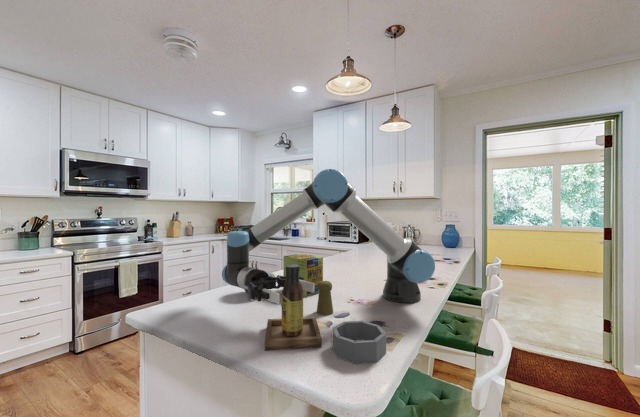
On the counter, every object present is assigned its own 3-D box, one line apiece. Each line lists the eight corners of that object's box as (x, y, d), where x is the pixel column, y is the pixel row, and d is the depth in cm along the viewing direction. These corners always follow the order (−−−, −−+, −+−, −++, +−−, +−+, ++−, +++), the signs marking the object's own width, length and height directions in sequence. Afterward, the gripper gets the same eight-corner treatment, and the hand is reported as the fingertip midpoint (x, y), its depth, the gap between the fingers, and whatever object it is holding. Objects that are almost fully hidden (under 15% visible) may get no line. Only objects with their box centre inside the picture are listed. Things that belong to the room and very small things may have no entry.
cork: (331, 316, 100) (331, 284, 100) (314, 314, 101) (314, 283, 101) (334, 309, 106) (334, 279, 106) (318, 308, 107) (318, 279, 107)
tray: (315, 324, 92) (315, 316, 92) (321, 347, 78) (321, 338, 78) (267, 327, 91) (267, 319, 91) (264, 350, 76) (264, 341, 76)
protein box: (306, 297, 120) (306, 260, 120) (282, 290, 131) (282, 255, 131) (323, 292, 128) (323, 257, 128) (299, 285, 139) (299, 253, 138)
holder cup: (374, 337, 84) (375, 320, 84) (391, 361, 71) (391, 340, 71) (330, 339, 82) (330, 322, 82) (339, 364, 69) (339, 344, 69)
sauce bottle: (282, 328, 87) (281, 262, 87) (302, 327, 88) (302, 262, 87) (281, 338, 81) (280, 267, 80) (303, 337, 81) (303, 266, 81)
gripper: (282, 283, 106) (326, 296, 92) (219, 300, 88) (260, 318, 73) (282, 263, 106) (326, 272, 92) (218, 275, 88) (260, 288, 73)
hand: (297, 292), depth 83 cm, fingers open, 13 cm apart
